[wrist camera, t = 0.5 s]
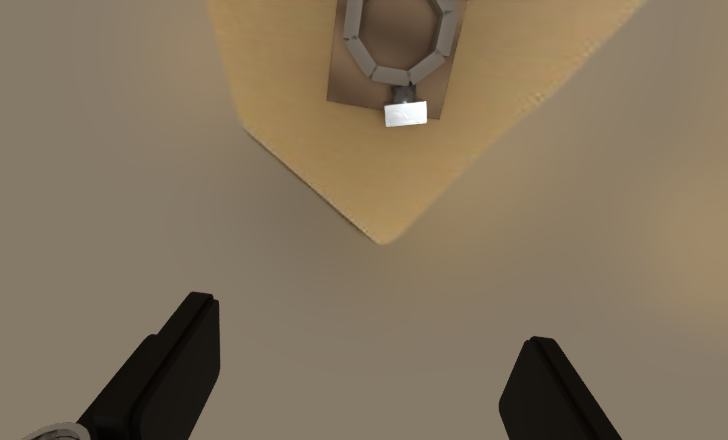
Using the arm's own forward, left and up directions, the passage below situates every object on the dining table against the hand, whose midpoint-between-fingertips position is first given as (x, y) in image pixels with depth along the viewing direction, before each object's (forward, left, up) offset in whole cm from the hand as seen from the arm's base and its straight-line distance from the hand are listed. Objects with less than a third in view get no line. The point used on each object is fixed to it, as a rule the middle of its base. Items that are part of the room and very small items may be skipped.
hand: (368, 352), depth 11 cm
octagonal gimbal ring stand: (-11, +1, -28) cm, 31 cm away
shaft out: (-5, +2, -27) cm, 28 cm away
